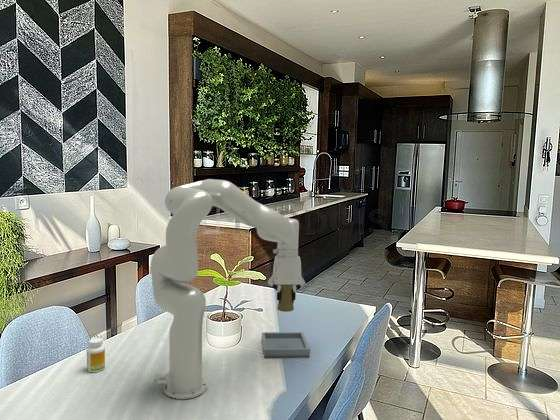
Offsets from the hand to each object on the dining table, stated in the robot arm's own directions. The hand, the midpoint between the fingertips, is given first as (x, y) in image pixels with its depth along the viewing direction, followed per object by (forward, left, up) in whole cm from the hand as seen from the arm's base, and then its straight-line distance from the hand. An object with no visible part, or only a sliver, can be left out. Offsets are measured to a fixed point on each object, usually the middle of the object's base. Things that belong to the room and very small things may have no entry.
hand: (285, 301), depth 162 cm
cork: (0, 0, -3) cm, 3 cm away
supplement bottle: (-63, -14, -18) cm, 67 cm away
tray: (0, 0, -18) cm, 18 cm away
